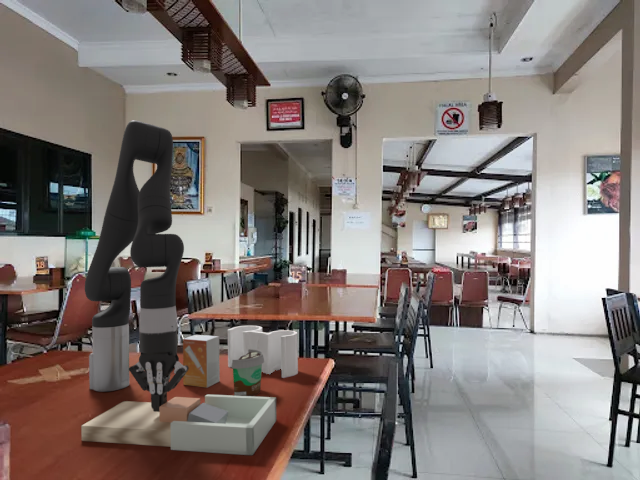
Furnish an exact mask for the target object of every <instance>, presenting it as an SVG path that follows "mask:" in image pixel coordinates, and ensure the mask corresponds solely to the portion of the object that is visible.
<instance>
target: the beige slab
mask: <svg viewBox="0 0 640 480" xmlns="http://www.w3.org/2000/svg"><path fill="white" fill-rule="evenodd" d="M171 423H172V422H160V416H159V412H154V411H153V409H152V407H151V401H150V402H147V401H128V400H126V401H125V400H124V401H122V402H120V403H118V404H116V405H115V406H113V407H111V408H110V409H108V410H106V411H104V412H103V413H100V414H98V415H97V416H95V417H94V418H93V419H92V418H91V420H89V421H87V422H86V423H85V422H84V424H81V426H80V427H81V429H80V430H81V441H82V442H97V443H108V444H109V443H111V444H112V443H113V444H126V445H141V446H155V447H170V448H171Z"/></svg>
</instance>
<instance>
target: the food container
mask: <svg viewBox="0 0 640 480" xmlns="http://www.w3.org/2000/svg"><path fill="white" fill-rule="evenodd" d="M262 363H264V357H263V354H262V352H261V351H258V350H250V349H248V354H246V355H244V356H241V357H240V358H239V359H238V360H232V367H231V369H232V375H233V377H232V378H233V380H232V381H233V393H234V395H233V396H255V397H257V395H259V394H260V393H261V384H262V372H261V371H262Z"/></svg>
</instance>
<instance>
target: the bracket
mask: <svg viewBox="0 0 640 480" xmlns="http://www.w3.org/2000/svg"><path fill="white" fill-rule="evenodd" d="M248 349H250V350H258V351H261V352H262V354H263V357H264V363H262V371H261V373H262V372H263V374H266V375H267V374H269V375H272V374H271V373H273V372H276V371H281V378H283V379H285V378H289V377H293V376H296V375H298V373H299V360H298V359H299V356H298V332H297V331H294V330H287V329H285V330H274V331H270V332H264V331H263V327H262V326H259V325H239V326H233V327H231V328H228V329H227V366H228V368H232V360H238V359H239V358H240V357H241V356H244V355H246V354H248ZM280 369H281V370H280ZM275 370H276V371H275Z"/></svg>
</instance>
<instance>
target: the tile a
mask: <svg viewBox="0 0 640 480" xmlns="http://www.w3.org/2000/svg"><path fill="white" fill-rule="evenodd" d="M199 405H201V397H185V396H174V397H173V398H170V399H169V400H167V402H166V403H165V404H163V405H161V406H160V407H159V416H160V422H173V421H186V422H187V421H188V416H189V413H190V412H191V411H193V410H194V409H195V408H197V407H198V406H199Z"/></svg>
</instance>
